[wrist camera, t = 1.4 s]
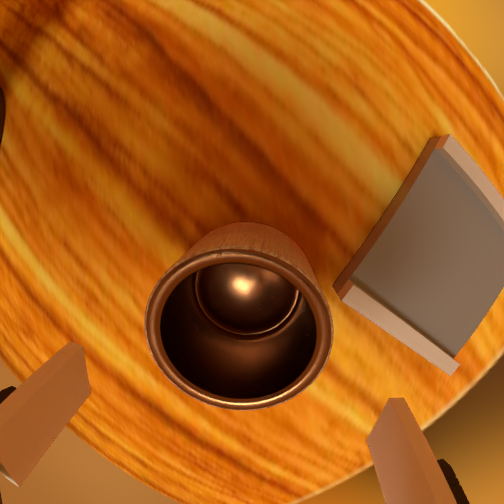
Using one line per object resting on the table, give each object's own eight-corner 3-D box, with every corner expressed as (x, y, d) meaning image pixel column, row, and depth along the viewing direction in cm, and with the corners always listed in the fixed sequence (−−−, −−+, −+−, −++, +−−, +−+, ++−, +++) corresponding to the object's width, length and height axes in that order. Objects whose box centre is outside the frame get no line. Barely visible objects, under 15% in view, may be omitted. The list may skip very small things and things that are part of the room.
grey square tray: (332, 285, 25) (341, 300, 21) (429, 138, 21) (450, 134, 18) (436, 359, 26) (450, 376, 23) (514, 241, 22) (534, 247, 19)
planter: (229, 193, 23) (205, 199, 14) (337, 270, 24) (374, 319, 15) (163, 296, 26) (116, 350, 16) (262, 360, 27) (259, 434, 17)
